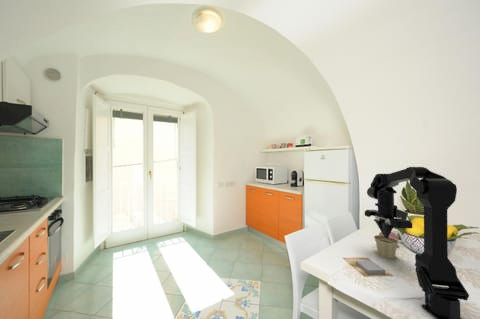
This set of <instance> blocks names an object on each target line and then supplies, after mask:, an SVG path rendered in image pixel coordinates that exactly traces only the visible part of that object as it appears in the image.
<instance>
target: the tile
mask: <svg viewBox="0 0 480 319" xmlns="http://www.w3.org/2000/svg"><path fill="white" fill-rule="evenodd" d="M356 265H357V266H358V267H360V268H361V269H362V270H363V271H365V272H366V273H367V274H385V270H386V269H384V268H383V267H382V266H380V265H379V264H378V263H376V262H375V261H373V260H372V261H356Z"/></svg>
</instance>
